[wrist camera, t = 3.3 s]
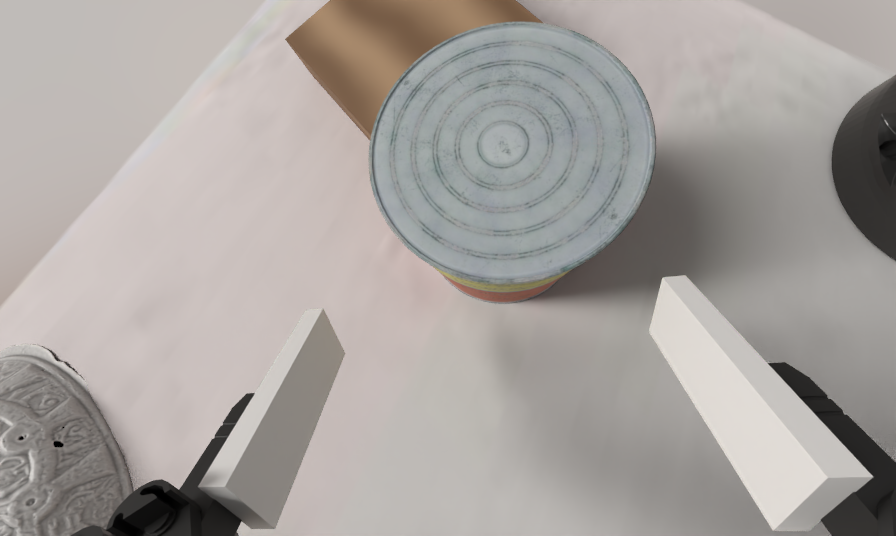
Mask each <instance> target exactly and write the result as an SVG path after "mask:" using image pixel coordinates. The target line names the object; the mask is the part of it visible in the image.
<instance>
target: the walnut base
mask: <svg viewBox="0 0 896 536" xmlns="http://www.w3.org/2000/svg"><path fill="white" fill-rule="evenodd" d="M520 21H521V22H537V23H543V22H541V21H540V20H539V19H538V18H536V17H535V16H534V15H533V14H532V13H530V12H529V11H528V10H527V9H526V8H524V7H523V6H522V5H521V4H519V3H518V2H517V1H516V0H330V1H329V2H328V3H326V4H325V5H324V6H323V7H322V8H321V9H319V10H318V11H317V12H316V13H315V14H314V15H313V16H311V17H310V18H309V19H308V20H307V21H306V22H304V23H303V24H302V25H301V26H300V27H299V28H298V29H296V30H295V31H294V32H293V33H292V34H291V35H289V36H288V37H287V38H286V41H287V42H288V43H289V45H290V46H291V47H292V49H293V50H294V51H295V53H296V54H297V55H298V57H299V58H300V59H301V61H302V62H303V63H304V65H305V66H306V67H307V69H308V70H309V71H310V73H311V74H312V75H313V77H314V78H315V79H316V80H317V81H318V82H319V84H320V85H321V86H322V87H323V88H324V89H325V90H326V91H327V93H328V94H329V95H330V96H331V97H332V98H333V99H334V100H335V102H336V103H337V104H338V105H339V106H340V107H341V108H342V110H343V111H344V112H345V113H346V114H347V115H348V116H349V117H350V119H351V120H352V121H353V122H354V123H355V124H356V125H357V126H358V128H359V129H360V130H361V131H362V132H363V133H364V134H365V135H366V137H367V138H368V139H369V140H371V134H372V130H373V126H374V123H375V120H376V117H377V115H378V112H379V110H380V108H381V106H382V103H383V101H384V100H385V98H386V96H387V94H388V93H389V91H390V90H391V88H392V87H393V85H394V84H395V83H396V81H397V80H398V79H399V78H400V76H401V75H402V74H403V73H404V72H405V71H406V70H407V69H408V68H409V67H410V66H411V65H412V64H413V63H414V62H415V61H416V60H417V59H419V58H420V57H421V56H422V55H423V54H425V53H426V52H428V51H429V50H430V49H432V48H433V47H435V46H436V45H438V44H440V43H442V42H443V41H445V40H447V39H449V38H451V37H453V36H455V35H457V34H460V33H463V32H465V31H468V30H471V29H474V28H477V27H481V26H485V25H490V24H496V23H503V22H520Z"/></svg>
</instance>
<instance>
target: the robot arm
mask: <svg viewBox="0 0 896 536" xmlns="http://www.w3.org/2000/svg"><path fill="white" fill-rule="evenodd" d="M832 171H833V178H834V183H835V186H836V190H837V192H838V195H839V198H840V200H841V202H842V204H843V206H844V208H845V209H846V211H847V213H848V215H849V216H850V217H851V219H852V220H853V222H854V223H855V224H856V226H857V227H858V228H859V229H860V230H861V231H862V233H863V234H864V235H865V236H866V237H867V238H868V239H869V240H870V241H871V242H872V243H874V244H875V245H876V246H877V247H878V248H880V249H881V250H882V251H883V252H885V253H886V254H887V255H889V256H890V257H892V258H893V259H895V260H896V75H895V76H893V77H892V78H890V79H888V80H887V81H885V82H884V83H882V84H881V85H879V86H877V87H876V88H874V89H873V90H871V91H870V92H869V93H867V94H866V95H865V96H863V97H862V98H861V99H860V100H859V101H858V102H857V103H856V104H855V105H854V106H853V107H852V109H851V110H850V111H849V113H848V114H847V115H846V117H845V118H844V120H843V122H842V124H841V126H840V127H839V130H838V132H837V135H836V138H835V141H834V146H833V152H832ZM649 333H650V334H651V336H652V338H653V339H654V341H655V342H656V344H657V346H658V347H659V349H660V350H661V352H662V354H663V355H664V357H665V358H666V360H667V362H668V363H669V365H670V366H671V368H672V370H673V371H674V373H675V374H676V376H677V378H678V379H679V381H680V382H681V384H682V386H683V387H684V389H685V390H686V392H687V394H688V395H689V397H690V398H691V400H692V402H693V403H694V405H695V406H696V408H697V410H698V411H699V413H700V414H701V416H702V418H703V419H704V421H705V423H706V424H707V426H708V427H709V429H710V431H711V432H712V434H713V435H714V437H715V439H716V440H717V442H718V443H719V445H720V447H721V448H722V450H723V451H724V453H725V455H726V456H727V458H728V459H729V461H730V463H731V464H732V466H733V467H734V469H735V471H736V472H737V474H738V475H739V477H740V479H741V480H742V482H743V483H744V485H745V487H746V488H747V490H748V491H749V493H750V495H751V496H752V498H753V500H754V501H755V503H756V504H757V506H758V508H759V509H760V511H761V512H762V514H763V516H764V517H765V519H766V520H767V522H768V524H769V525H770V527H771V528H772V530H773V531H810V530H811V529H812V528H813V527H815V526H816V525H817V524H818V523H819V522H821V521H822V523H823V524H824V525H825V527H826V528H827V529H828V531H829V532H830V533H831V535H832V536H896V463H895V462H894V461H893V460H892V459H891V458H890V457H889V456H888V455H887V454H886V453H885V452H884V451H883V450H882V449H881V448H880V447H879V446H878V445H877V444H876V443H875V442H874V441H873V440H872V439H871V438H870V437H869V436H868V435H867V434H866V433H865V432H864V431H863V430H862V429H861V428H860V427H859V426H858V425H857V424H856V423H855V422H854V421H853V420H852V419H851V418H850V417H849V416H848V415H844V414H843V410H842V409H841V408H839V407H838V406H837V405H836V404H835V403H834V402H833V401H832V400H831V399H828V398H827V395H826V394H825V393H824V392H823V391H822V390H821V389H820V388H819V387H818V386H817V385H816V384H815V383H814V382H813V381H812V380H811V379H810V378H809V377H807V376H806V375H804V374H803V373H801V372H799V371H798V370H796V369H795V368H793V367H791V366H790V365H788V364H787V363H785V362H784V363H767V362H766V361H765V360H764V359H763V358H762V357H761V356H760V355H759V354H758V353H757V352H756V350H755V349H754V348H753V347H752V346H751V345H750V344H749V343H748V342H747V341H746V340H745V339H744V338H743V337H742V335H741V334H740V333H739V332H738V331H737V330H736V329H735V328H734V327H733V326H732V325H731V324H730V323H729V322H728V320H727V319H726V318H725V317H724V316H723V315H722V314H721V313H720V312H719V311H718V310H717V309H716V308H715V306H714V305H713V304H712V303H711V302H710V301H709V300H708V299H707V298H706V297H705V296H704V295H703V294H702V293H701V291H700V290H699V289H698V288H697V287H696V286H695V285H694V284H693V283H692V282H691V281H690V280H689V279H688V278H687V276H686V275H683V276H672V277H662V281H661V285H660V289H659V293H658V297H657V301H656V305H655V309H654V313H653V317H652V321H651V325H650V329H649ZM344 355H345V352H344V350H343V348H342V346H341V344H340V342H339V340H338V338H337V336H336V334H335V332H334V330H333V328H332V326H331V324H330V322H329V319H328V317H327V315H326V313H325V311H324V309H323V308H322V309H311V310H306V311H305V312H304V314H303V316H302V317H301V319H300V320H299V322H298V324H297V325H296V327H295V329H294V330H293V332H292V334H291V335H290V337H289V338H288V340H287V342H286V343H285V345H284V347H283V348H282V350H281V352H280V353H279V355H278V356H277V358H276V360H275V361H274V363H273V365H272V366H271V368H270V370H269V371H268V373H267V374H266V376H265V378H264V379H263V381H262V383H261V384H260V386H259V388H258V389H257V391H256V392H255V393H250V394H246V395H245V396H244V397H243V398H242V399H241V400H240V401H239V402H238V403H237V404H236V405H235V406H234V407H233V408H232V410H231V411H230V413H229V414H228V416H227V417H226V419H225V420H224V422H223V426H221V427H220V428H219V430H218V431H217V433H216V434H215V438H214V439H212V440H211V442H210V444H209V445H208V447H207V448H206V450H205V451H204V453H203V454H202V456H201V457H200V459H199V460H198V462H197V464H196V465H195V467H194V468H193V470H192V471H191V473H190V474H189V476H188V477H187V479H186V481H185V482H184V484H183V485H182V487H181V488H180V489H179V490H178V489H177V488H175V487H174V486H172V485H171V484H170V483H168V482H166V481H164V480H155V481H151V482H149V483H147V484H145V485H143V486H141V487H139V488H138V489H137V490H135V491H134V492H133V493H131V494H130V495H129V496H128V497H127V498H126V499H125V500H124V501H123V502H122V503H121V504H120V505H119V506H118V507H117V509H116V510H115V512H114V513H113V515H112V516H111V518H110V520H109V522H108V525H107V528H106V529H104V528H102V527H100V526H95V525H92V526H89V527H85V528H83V529H81V530H79V531H77V532H76V533H74V534H72V535H71V536H239V535H238V533H237V532H236V531H237V529H238V527H239V525H240V523H241V521H242V522H243V523H245V524H246V525H247V526H249V527H250V528H251V529H275V528H276V525H277V523H278V520H279V518H280V515H281V513H282V510H283V507H284V505H285V502H286V500H287V497H288V495H289V492H290V490H291V487H292V485H293V482H294V480H295V477H296V475H297V472H298V470H299V467H300V465H301V462H302V460H303V457H304V455H305V452H306V450H307V447H308V445H309V442H310V440H311V437H312V435H313V432H314V430H315V427H316V425H317V422H318V420H319V417H320V415H321V412H322V410H323V407H324V405H325V402H326V400H327V397H328V395H329V392H330V390H331V387H332V385H333V382H334V380H335V377H336V375H337V372H338V370H339V367H340V365H341V362H342V360H343V357H344Z"/></svg>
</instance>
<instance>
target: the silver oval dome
mask: <svg viewBox="0 0 896 536" xmlns="http://www.w3.org/2000/svg"><path fill="white" fill-rule="evenodd" d="M0 369H2V370H0V536H71V535H72V534H74V533H76V532H77V531H79V530H81V529H83V528H85V527H89V526H92V525H95V526H100V527H102V528H104V529H106V528H107V525H108V522H109V520H110V518H111V516H112V515H113V513H114V512H115V510H116V509H117V507H118V506H119V505H120V504H121V503H122V502H123V501H124V500H125V499H126V498H127V497H128V496H129V495H130V494H131V493H133V489H132V484H131V480H130V476H129V473H128V468H127V467H126V464H125V461H124V458H123V456H122V453H121V451H120V449H119V447H118V445H117V443H116V440H115V438H113V435H112V432H111V430H110V429H109V427H108V425H107V423H106V421H105V420H104V418H103V416H102V415H101V413H100V411H99V410H98V408H97V406H96V405H95V403H94V401H93V399H92V398H91V395H90V393H89V390H88V385H87V382H86V381H84V379H83V377H81V376H80V375H79V374H77V373H76V372H75V371H74V370H73V369H72V368H69V367H68V366H67V365H66V364H65V362H60V361H57V360H56V359H55V357H54V356H53V355H52V353H51V352H50V351H49V350H48V349H46V348H44V347H42V346H39V345H35V344H21V345H18V346H16V345H13V346H10V347H8V348H6V349H3V350H2V351H0ZM43 370H44V371H43ZM63 426H64V427H65V428H63V429H62V427H63ZM21 436H23V438H24V439H23V440H19V438H20V437H21ZM54 441H60V442H61V443H63V444H64V446H63V447H56V448H55V447H54V444H53V443H54Z"/></svg>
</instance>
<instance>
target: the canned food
mask: <svg viewBox="0 0 896 536" xmlns="http://www.w3.org/2000/svg"><path fill="white" fill-rule="evenodd" d="M655 156H656V136H655V126H654V122H653V117H652V113H651V110H650V107H649V104H648V101H647V99H646V97H645V95H644V93H643V91H642V89H641V87H640V86H639V84H638V82H637V81H636V79H635V78H634V76H633V75H632V74H631V72H630V71H629V70H628V69H627V67H626V66H625V65H624V64H623V63H622V62H621V61H620V60H619V59H618V58H617V57H616V56H614V55H613V54H612V53H611V52H610V51H608V50H607V49H606V48H604V47H603V46H601V45H600V44H598V43H597V42H595V41H593V40H591V39H590V38H588V37H586V36H584V35H581V34H579V33H577V32H574V31H572V30H569V29H566V28H562V27H559V26H555V25H550V24H545V23H537V22H521V21H520V22H503V23H496V24H490V25H485V26H481V27H477V28H474V29H471V30H468V31H465V32H463V33H460V34H457V35H455V36H453V37H451V38H449V39H447V40H445V41H443V42H442V43H440V44H438V45H436V46H435V47H433V48H432V49H430V50H429V51H428V52H426V53H425V54H423V55H422V56H421V57H420V58H419V59H417V60H416V61H415V62H414V63H413V64H412V65H411V66H410V67H409V68H408V69H407V70H406V71H405V72H404V73H403V74H402V75H401V76H400V78H399V79H398V80H397V81H396V83H395V84H394V85H393V87H392V88H391V90H390V91H389V93H388V94H387V96H386V98H385V100H384V101H383V103H382V106H381V108H380V110H379V112H378V115H377V117H376V120H375V123H374V126H373V130H372V134H371V140H370V146H369V174H370V181H371V186H372V190H373V193H374V197H375V199H376V202H377V205H378V207H379V209H380V211H381V213H382V215H383V217H384V219H385V221H386V222H387V224H388V225H389V227H390V229H391V230H392V231H393V232H394V234H395V235H396V236H397V237H398V239H399V240H400V241H401V242H402V243H403V244H404V245H405V246H406V247H407V248H408V249H409V250H411V251H412V252H413V253H414V254H416V255H417V256H418V257H419V258H421V259H422V260H424V261H425V262H427V263H428V264H430V265H431V266H433V267H434V268H435V269H436V270H437V271H438V272H440V273H441V274H442V275H443V276H444V277H445V279H446V280H447V281H448V282H449V283H450V284H452V285H453V286H454V287H455V288H456V289H458V290H459V291H461V292H462V293H464V294H466V295H468V296H470V297H473V298H475V299H478V300H481V301H485V302H490V303H515V302H520V301H524V300H527V299H530V298H532V297H535V296H537V295H539V294H541V293H543V292H544V291H546V290H547V289H549V288H550V287H551V286H553V285H554V284H555V283H556V282H557V281H558V280H559V279H560V278H561V277H563V276H564V275H565V274H567V273H568V272H569V271H571V270H572V269H573V268H575V267H577V266H579V265H581V264H583V263H585V262H586V261H588V260H589V259H591V258H592V257H594V256H595V255H597V254H598V253H599V252H601V251H602V250H603V249H604V248H606V247H607V246H608V245H609V244H610V243H612V242H613V241H614V239H615V238H616V237H617V236H618V235H619V234H620V233H621V232H622V231H623V230H624V229H625V227H626V226H627V225H628V224H629V222H630V221H631V220H632V218H633V217H634V215H635V214H636V212H637V211H638V209H639V207H640V205H641V203H642V201H643V199H644V197H645V195H646V193H647V190H648V187H649V184H650V182H651V178H652V174H653V170H654V164H655Z"/></svg>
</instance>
